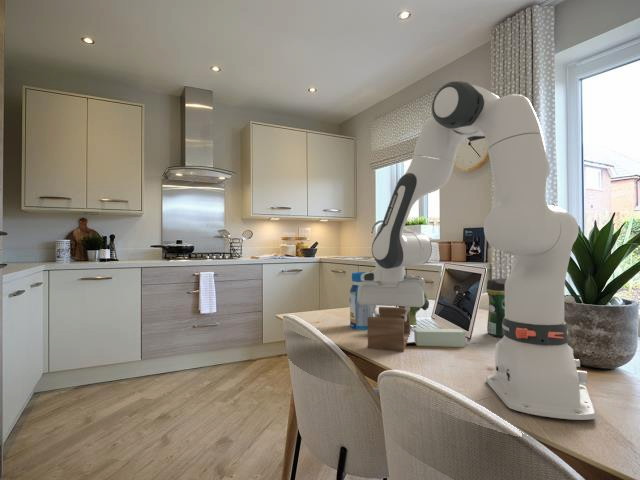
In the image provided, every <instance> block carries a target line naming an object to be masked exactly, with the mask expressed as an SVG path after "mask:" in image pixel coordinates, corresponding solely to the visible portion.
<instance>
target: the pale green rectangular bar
mask: <svg viewBox="0 0 640 480" xmlns="http://www.w3.org/2000/svg"><path fill="white" fill-rule="evenodd" d="M413 330H414V331H413V332H414V333H413V334H414V339H413V341H415V342H414V343H415V346H422V347H423V346H425V347H454V348H458V347H459V348H466V346H467V345H466V344H467V343H466V341H467V340H466V338H467V337H466V331H464V330H463V329H462V328H414V329H413Z"/></svg>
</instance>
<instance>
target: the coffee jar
mask: <svg viewBox="0 0 640 480" xmlns="http://www.w3.org/2000/svg"><path fill="white" fill-rule="evenodd" d="M506 279H507V278H504V277H503V278H491V279H490V278H489V279H487V282H486V293H487V296H488V303H489V304H488V314H487V326H486V328H487V330H486V331H487V333H488V334H489V335H490V336H492V337H494V336H495V337H498V338H503V337H504V334H503V327H502V323H503V318H504V317H505V282H506Z"/></svg>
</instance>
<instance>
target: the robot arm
mask: <svg viewBox="0 0 640 480" xmlns="http://www.w3.org/2000/svg"><path fill="white" fill-rule="evenodd" d="M431 103H432V104H431V114H432V116H430V117H429V118H427V119H426V120H425V121H424V123H423V125H422V127H421V128H420V133H419V135H418V137H417V141H416V143H415V146H414V151H413V155H412V158H411V162H410V164H409V166H408V168H407V169H406V171H405V173H404V175H402V176H400V178H399V179H398V182H397V183H396V185H395V187H394V190H393V193H392V195H391V198H390V200H389V203H388V206H387V209H386V212H385V215H384V218H383V220H382V222H381V224H380V225H378V227H377V228H376V233H375V237H374V239H373V241H372V245H371V254H372V257H373V259H374V261H375V269H374V270H373V269H372V270H369V271H366V272H367V273H364V274H362V275H361V280H362V281H363V282H361V283H360V284H359V286H358V293H357V302H358V303H359V304H361V305H371V310H372V311H373V317H380V313H379V312H377V309H376V308H377V306H381V307H396V306H397V307H398V306H404V307H405V310H407V311H406V313H405V314H404V315H401V319H404V321H405V322H406V316H407V314H408V312H409V310H410V307H422V306H423V305H424V293H425V292H424V291H425V289H426V281H425V279H424V278H423V277H421V276H420V275H406V273H405V271H406V270H405V268H406V267H412V266H420V265H424V264H426V263H427V262H429V260H430V258H431V256H432V253H433V246H432V241H431V239H430V238H429V237H428V236H427V235H426V234H424V233H421V232H418V231H415V230H412V229H409V228H408V227H406V223H407V221H408V219H409V215H410V212H411V209H412V207H413V206H414V204H415V203H417V201H418V200H419V199H421V198H422V197H424V196H426V195H429V194H431V193H434V192H436V191H439V190H440V189H442V188H443V187H444V186H445V185H447V183H448V182H449V180H450V178H451V176H452V173H453V170H454V166H455V162H456V158H457V154H458V153H457V152H458V149H459V147H460V145H461V144H462V143H463V142H464V140H465V139H467V140H469V141H470V142H473V141H477V140H482V139H485V142H486V148H487V152H488V158H489V163H490V169H491V174H492V175H491V176H492V180H493V194H492V195H493V197H492V204H491V210H490V212H489V213H488V214H487V216H486V218H485V220H484V223H483V232H484V233H483V234H484V237H485V239H486V241H487V243H488V244H489V245H490V246H491V248H492V247H493V249H496V250H498V251H499V252H500V251H501V252H502V253H505V254H508V255H511V256H515V258H514V262H513V266H512V268H511V271H510V273H509V275H508V276H507V278H506V282H505V317H504V318H503V323H502V327H503V334H504V337H501V339H500V340H499V341H497V342H496V343H495V347H494V349H495V352H494V353H495V354H494V374H490V375H487V376H486V379H485V382H486V383H487V384H488V386H489V387H490V388H491V389H492V390H493V391H494V393H495V394H496V395H497V396H498V397H499V398H500V400H501V401H502V402H503V403H504V404H505V406H506V407H508V408H509V409H512V410H514V411H517V412H521V413H524V414H525V413H526V414H530V415H535V416H539V417H547V418H548V417H549V418H553V419H565V420H572V421H573V420H576V421H577V420H579V421H581V420H582V421H583V420H584V421H585V420H595V419H596V418H597V417H596V411H595V407H594V405H593V402H592V400H591V397H590V394H589V391H588V388H587V387H586V386H585V385H587V384H588V383H589V381H588V380H589V375H588V372H587V371H586V370H577V367H579V368H580V367H581V360H580V359H577V358H575V356H574V349H573V348H572V347H571V346H570V345H568V343H569V341H570V340H569V329H568V325H567V322H565V286H566V280H567V279H566V276H567V272H568V267H569V264H570V263H569V262H570V259H571V253H572V248H573V247H574V246H573V245H574V243H575V242H576V240H577V238H578V236H579V231H580V228H579V223H578V221H577V219H576V218H575V217H574V216H573V215H572V214H571V213H569V211H567V210H565V209H563V208H562V207H560V206H556V205H551V204H550V205H549V204H548V203H547V193H546V191H547V179H548V177H549V175H550V172H551V166H550V162H549V158H548V153H547V149H546V144H545V140H544V136H543V131H542V128H541V125H540V121H539V118H538V117H537V114H536V111H535V110H534V109H535V108H534V107H533V105H532V103H531V101H530V100H529V99H528V98H527V97H526V96H524V95H522V94H514V93H513V94H507V95H504V96H500V95H498V94H495V93H493V92H492V91H489V90H488V89H486V88H485V87H481V86H478V85H475V84H470V83H469V82H467V81H462V80H461V81H460V80H459V81H456V80H455V81H450V82H448V83H445V84H444V85H442V86H441V87H440V88H439V89H438V90H437V91H436V93H435V94H434V96H433V100H432V102H431ZM423 292H424V293H423ZM583 384H585V385H583Z"/></svg>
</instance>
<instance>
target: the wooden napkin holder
mask: <svg viewBox="0 0 640 480" xmlns="http://www.w3.org/2000/svg"><path fill="white" fill-rule="evenodd" d="M406 311H407V310H405V308H399V307H398V306H397V307H396V306H378V313H380V317H374V316H373V317H368V330H367V349H371V350H380V351H381V350H382V351H392V352H401V353H404V352H405V349H406V348H407V347H406V346H407V343H408V341H409V339H408V337H409V338H410V336H411V327H410V310H409V312H408V314H407V316H406V322H405V321H404V319H401V315H404V314H405V313H406ZM409 335H410V336H409ZM407 340H408V341H407Z"/></svg>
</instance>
